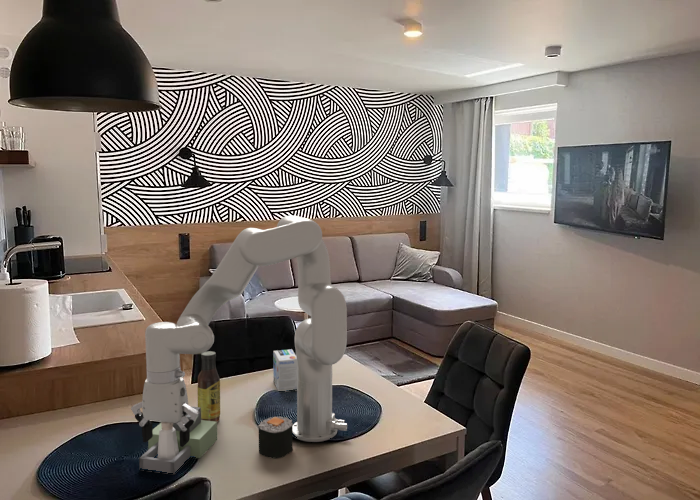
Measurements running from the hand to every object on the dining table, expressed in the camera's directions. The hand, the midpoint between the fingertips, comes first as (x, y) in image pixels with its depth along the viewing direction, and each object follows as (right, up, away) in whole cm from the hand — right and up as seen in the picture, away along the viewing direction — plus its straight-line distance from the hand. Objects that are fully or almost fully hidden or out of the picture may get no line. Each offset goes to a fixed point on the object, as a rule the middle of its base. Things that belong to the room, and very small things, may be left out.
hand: (166, 441), depth 134 cm
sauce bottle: (+5, -2, +24) cm, 24 cm away
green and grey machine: (+1, -5, +5) cm, 7 cm away
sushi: (+26, -5, +7) cm, 27 cm away
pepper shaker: (0, -6, +1) cm, 6 cm away
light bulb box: (+23, +1, +50) cm, 55 cm away
